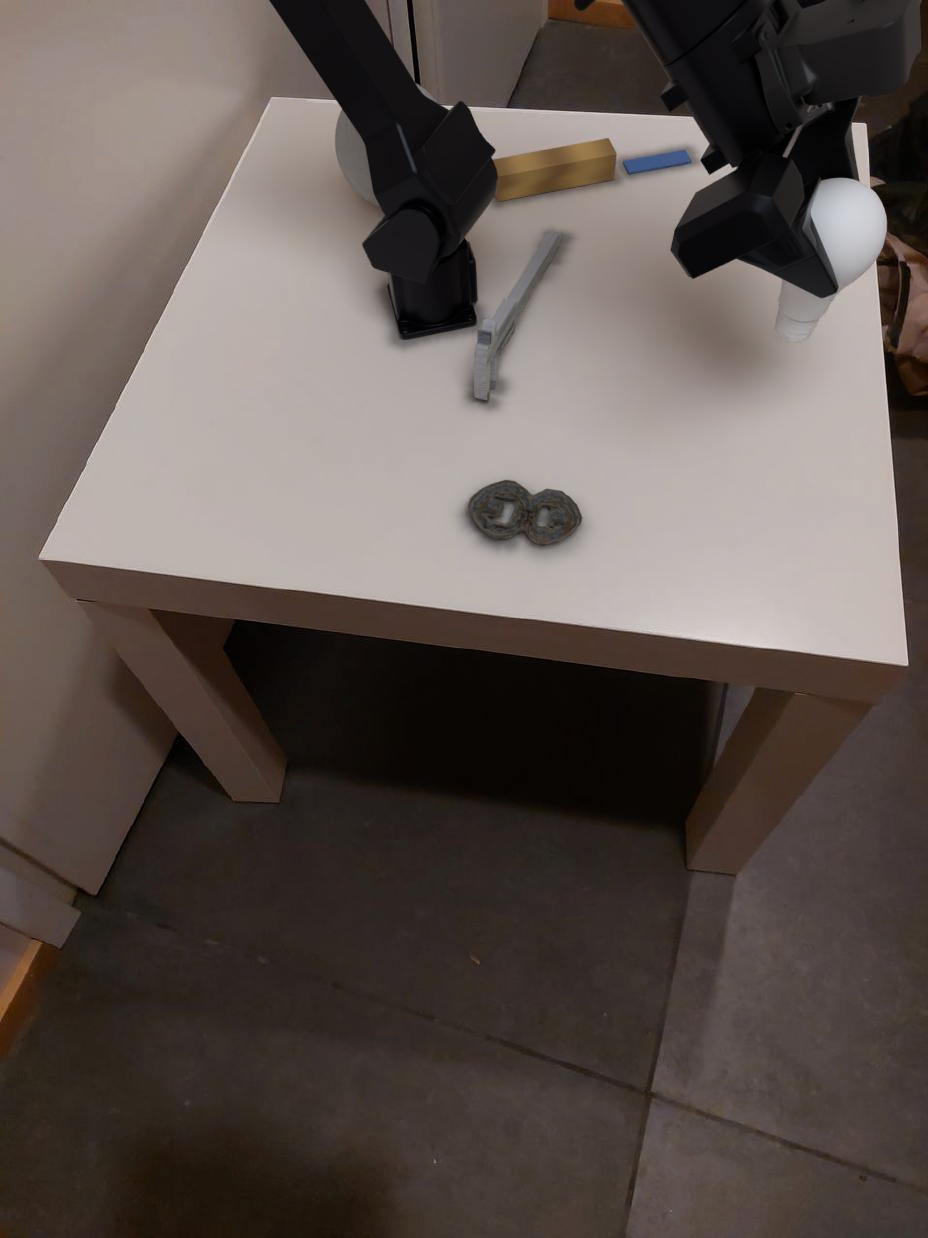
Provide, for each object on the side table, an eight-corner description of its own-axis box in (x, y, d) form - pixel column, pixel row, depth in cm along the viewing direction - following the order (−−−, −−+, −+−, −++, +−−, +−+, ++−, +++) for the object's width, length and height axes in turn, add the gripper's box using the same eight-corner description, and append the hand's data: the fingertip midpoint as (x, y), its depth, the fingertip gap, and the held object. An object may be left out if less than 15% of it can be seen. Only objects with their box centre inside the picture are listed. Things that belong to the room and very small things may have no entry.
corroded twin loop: (573, 559, 58) (574, 550, 57) (460, 538, 59) (460, 529, 58) (587, 501, 60) (588, 492, 59) (478, 482, 62) (477, 473, 61)
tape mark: (628, 174, 78) (629, 172, 78) (622, 162, 79) (623, 160, 78) (691, 162, 78) (691, 160, 78) (684, 151, 79) (685, 148, 79)
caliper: (487, 406, 65) (485, 344, 60) (474, 403, 65) (471, 341, 60) (563, 237, 74) (567, 169, 69) (551, 235, 74) (554, 167, 69)
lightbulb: (726, 345, 57) (772, 196, 47) (770, 293, 59) (823, 141, 50) (809, 384, 55) (875, 238, 46) (852, 330, 57) (923, 179, 48)
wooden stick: (497, 201, 77) (497, 176, 75) (491, 185, 78) (490, 159, 76) (614, 179, 77) (617, 153, 75) (606, 163, 79) (608, 137, 76)
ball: (340, 172, 80) (319, 60, 71) (444, 156, 80) (436, 43, 72) (351, 240, 75) (330, 129, 67) (461, 223, 76) (455, 111, 67)
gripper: (798, 15, 34) (953, 313, 41) (907, -176, 41) (1022, 103, 49) (596, 155, 43) (752, 380, 50) (716, -24, 50) (837, 193, 57)
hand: (844, 260), depth 51 cm, fingers closed on lightbulb, 6 cm apart
